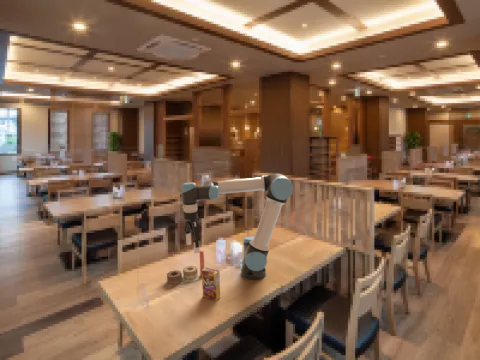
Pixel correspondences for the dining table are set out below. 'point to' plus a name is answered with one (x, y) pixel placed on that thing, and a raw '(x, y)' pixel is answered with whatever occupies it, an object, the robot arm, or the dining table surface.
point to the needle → (201, 261)
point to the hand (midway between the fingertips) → (192, 248)
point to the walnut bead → (174, 277)
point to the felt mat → (186, 280)
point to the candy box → (211, 283)
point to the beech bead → (190, 272)
